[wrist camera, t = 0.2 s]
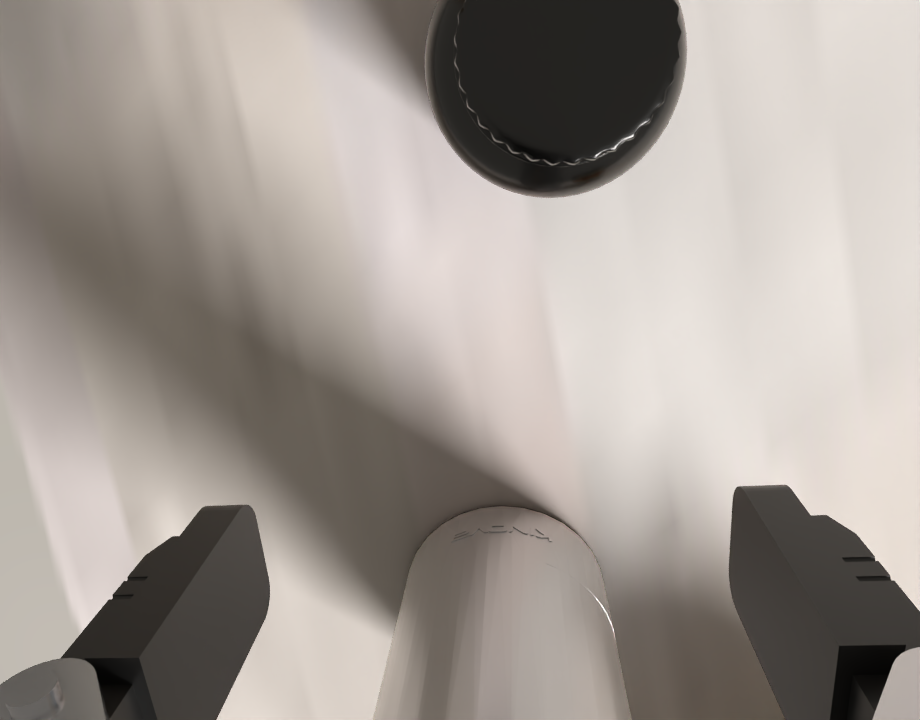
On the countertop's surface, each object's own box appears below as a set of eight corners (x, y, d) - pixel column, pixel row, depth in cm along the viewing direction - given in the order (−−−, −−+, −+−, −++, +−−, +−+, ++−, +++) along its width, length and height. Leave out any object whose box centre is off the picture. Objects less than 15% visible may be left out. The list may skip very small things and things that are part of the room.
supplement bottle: (473, 201, 27) (445, 246, 16) (426, 17, 25) (355, -85, 14) (649, 154, 26) (754, 166, 15) (613, -42, 24) (702, -202, 13)
